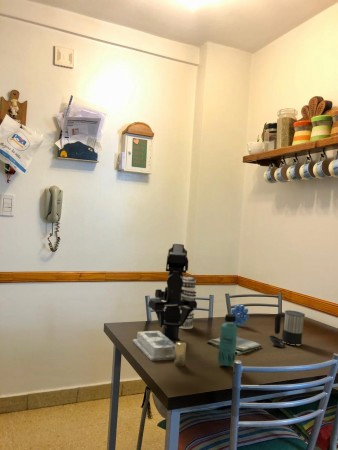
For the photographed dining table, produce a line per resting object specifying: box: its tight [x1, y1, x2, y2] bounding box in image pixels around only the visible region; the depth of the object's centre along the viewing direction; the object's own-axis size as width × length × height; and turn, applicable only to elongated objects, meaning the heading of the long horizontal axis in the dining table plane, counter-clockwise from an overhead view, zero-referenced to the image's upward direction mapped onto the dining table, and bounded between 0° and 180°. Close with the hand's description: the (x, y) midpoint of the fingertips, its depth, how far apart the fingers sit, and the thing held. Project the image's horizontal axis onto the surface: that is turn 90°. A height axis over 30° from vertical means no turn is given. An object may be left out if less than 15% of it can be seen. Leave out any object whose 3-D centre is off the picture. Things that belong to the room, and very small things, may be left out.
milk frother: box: [268, 309, 306, 347], centre depth 180 cm, size 14×16×15 cm
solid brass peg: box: [173, 341, 187, 367], centre depth 145 cm, size 4×4×8 cm
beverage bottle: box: [217, 313, 239, 367], centre depth 146 cm, size 6×7×20 cm
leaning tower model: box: [178, 276, 197, 330], centre depth 194 cm, size 9×9×25 cm
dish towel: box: [206, 336, 262, 356], centre depth 172 cm, size 19×18×3 cm
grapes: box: [230, 304, 250, 327], centre depth 204 cm, size 12×7×12 cm, turn 42°
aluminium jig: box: [132, 330, 176, 362], centre depth 158 cm, size 13×22×4 cm, turn 24°
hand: (171, 326), depth 147 cm, fingers open, 9 cm apart
